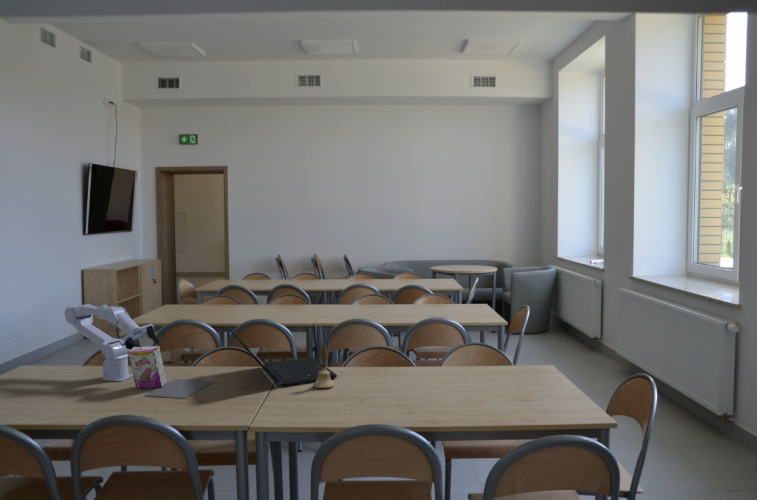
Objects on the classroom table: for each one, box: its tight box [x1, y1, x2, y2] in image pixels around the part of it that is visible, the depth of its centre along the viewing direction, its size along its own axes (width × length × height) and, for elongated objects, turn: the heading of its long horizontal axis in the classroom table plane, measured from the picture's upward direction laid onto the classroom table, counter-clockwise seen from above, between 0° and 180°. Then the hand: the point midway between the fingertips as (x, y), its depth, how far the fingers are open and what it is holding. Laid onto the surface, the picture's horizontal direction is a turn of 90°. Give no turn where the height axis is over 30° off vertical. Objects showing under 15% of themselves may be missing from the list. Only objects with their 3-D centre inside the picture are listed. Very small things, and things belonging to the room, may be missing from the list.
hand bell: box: [312, 344, 335, 389], centre depth 213 cm, size 8×8×16 cm
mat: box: [143, 378, 215, 400], centre depth 215 cm, size 18×20×1 cm
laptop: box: [229, 329, 338, 387], centre depth 228 cm, size 33×38×19 cm
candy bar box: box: [128, 345, 168, 389], centre depth 215 cm, size 11×5×16 cm, turn 84°
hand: (149, 346), depth 220 cm, fingers open, 7 cm apart
